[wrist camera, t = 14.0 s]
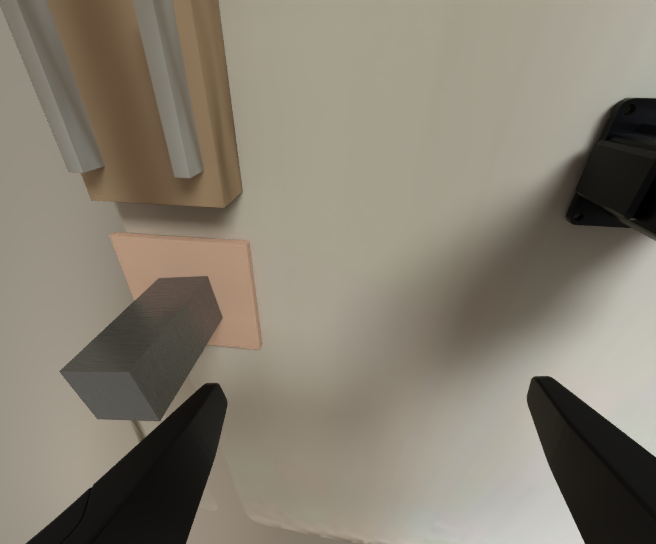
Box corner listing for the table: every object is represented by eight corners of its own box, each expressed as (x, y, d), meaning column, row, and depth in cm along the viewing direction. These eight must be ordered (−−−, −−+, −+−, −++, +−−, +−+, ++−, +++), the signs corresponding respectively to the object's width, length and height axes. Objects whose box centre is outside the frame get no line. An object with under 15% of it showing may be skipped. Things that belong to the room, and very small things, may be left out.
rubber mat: (248, 240, 22) (246, 244, 21) (261, 344, 27) (260, 349, 26) (115, 232, 23) (109, 235, 22) (153, 334, 28) (149, 339, 27)
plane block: (212, -46, 14) (155, -94, 10) (242, 191, 20) (213, 217, 16) (50, -44, 15) (-59, -88, 11) (125, 185, 21) (70, 209, 17)
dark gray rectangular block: (207, 276, 23) (128, 371, 15) (222, 317, 25) (159, 421, 17) (151, 278, 24) (49, 371, 16) (171, 318, 26) (88, 418, 18)
